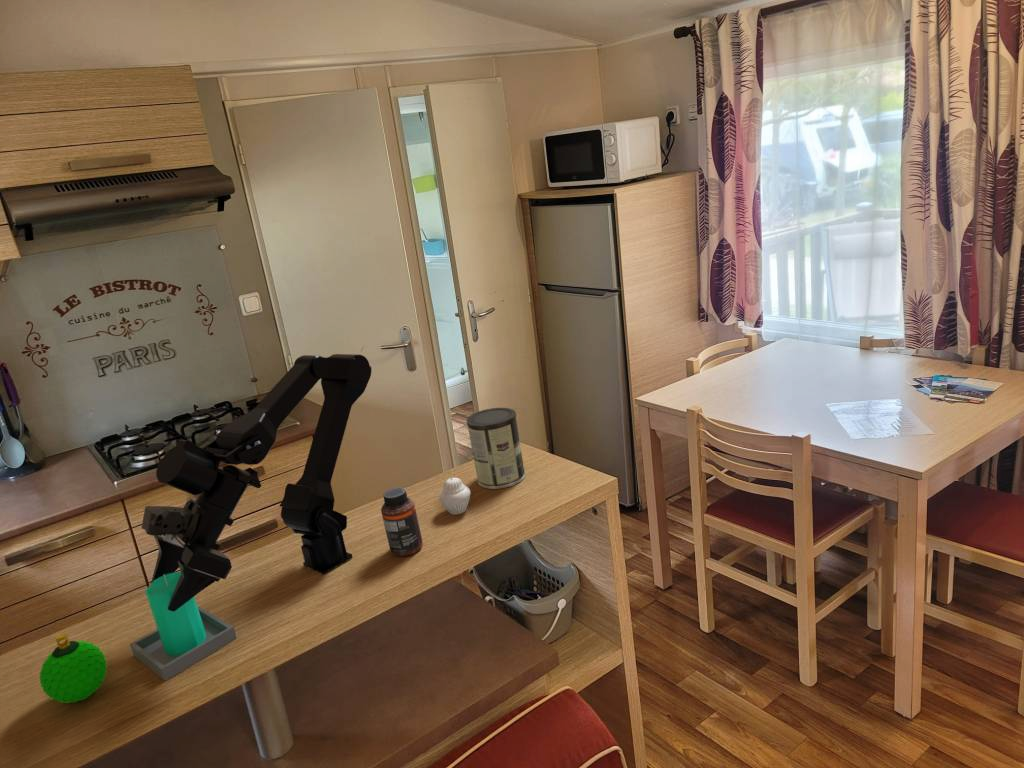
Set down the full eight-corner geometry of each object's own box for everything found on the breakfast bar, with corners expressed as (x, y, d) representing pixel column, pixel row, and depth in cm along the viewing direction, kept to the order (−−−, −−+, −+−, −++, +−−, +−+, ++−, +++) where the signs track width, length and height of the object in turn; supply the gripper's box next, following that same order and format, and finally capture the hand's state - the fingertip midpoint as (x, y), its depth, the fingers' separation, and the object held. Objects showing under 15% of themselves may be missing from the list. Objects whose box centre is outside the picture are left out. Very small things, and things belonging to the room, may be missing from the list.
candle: (190, 627, 118) (169, 560, 114) (214, 635, 115) (193, 566, 111) (156, 650, 113) (133, 581, 110) (180, 659, 110) (157, 588, 106)
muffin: (435, 513, 146) (429, 480, 144) (460, 500, 149) (454, 468, 147) (454, 521, 141) (448, 488, 139) (479, 508, 145) (474, 475, 143)
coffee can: (500, 465, 164) (490, 404, 160) (535, 473, 157) (526, 410, 153) (466, 483, 157) (455, 421, 153) (501, 493, 150) (491, 428, 146)
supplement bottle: (410, 537, 137) (398, 481, 134) (430, 546, 133) (418, 488, 130) (383, 552, 134) (371, 495, 130) (403, 561, 129) (390, 502, 126)
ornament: (106, 669, 111) (86, 611, 108) (120, 693, 105) (99, 632, 102) (46, 698, 107) (22, 639, 104) (56, 725, 100) (32, 663, 98)
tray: (202, 616, 122) (199, 606, 121) (236, 638, 114) (233, 626, 114) (133, 655, 114) (129, 644, 113) (165, 681, 106) (161, 669, 106)
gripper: (150, 469, 116) (95, 562, 113) (186, 499, 102) (124, 606, 99) (213, 495, 123) (163, 584, 120) (255, 527, 109) (200, 628, 106)
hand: (161, 599), depth 111 cm, fingers open, 9 cm apart
